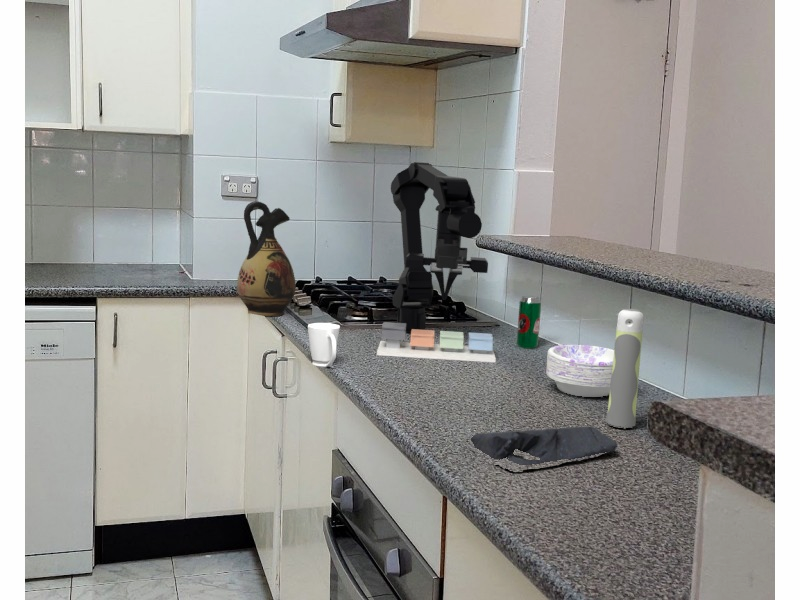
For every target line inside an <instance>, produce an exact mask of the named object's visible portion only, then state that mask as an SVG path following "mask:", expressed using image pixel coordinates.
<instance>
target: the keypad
mask: <svg viewBox="0 0 800 600" xmlns="http://www.w3.org/2000/svg"><path fill="white" fill-rule="evenodd" d="M439 347H440V343H434V347H422V346H410V342H404V341H401V340H397V339H386V340H380V342H379V344H378V347H377V350H376V356H384V357H398V358H399V357H400V358H416V359H418V358H419V359H431V360H432V359H435V360H447V361H449V360H450V361H463V362H482V363H496V361H497V358H496V355H495V352H494V349H493V348H494V347H492V351H488V350H472V349H469V348H468V345H463V349H455V348H439Z"/></svg>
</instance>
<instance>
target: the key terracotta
mask: <svg viewBox="0 0 800 600" xmlns="http://www.w3.org/2000/svg"><path fill="white" fill-rule="evenodd" d="M409 343H410V346H422V347H434V344H435V330H432V329H430V330H429V329H427V330H418V329H412V330H411V333H410V342H409Z"/></svg>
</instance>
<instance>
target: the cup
mask: <svg viewBox="0 0 800 600" xmlns="http://www.w3.org/2000/svg"><path fill="white" fill-rule="evenodd" d="M340 327H341V325H339V324H335V323H329V322H314V323H308V325H307V331H308V341H309V342H308V343H309V350H310V355H311V359H312V365H313V366H316V367H325V368H327V367H328V368H329V367H331V366H333V364H334V362H335V360H336V357H337V344H338V339H339V333H340Z"/></svg>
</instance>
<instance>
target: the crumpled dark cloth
mask: <svg viewBox="0 0 800 600" xmlns="http://www.w3.org/2000/svg"><path fill="white" fill-rule="evenodd" d="M473 435H474V436H473V437H472V438H471V441H472V442H473V444H474V446H475V448H477V449H479V450H481V451H482V452H483V453H485V454H487V455H489V456H490V457H491V458H494V459H499V460H500V459H503V458H506V457H507V459H508V458H509V459H508V460H509V461H513V462H514V463H517V464H519V465H532V464H540V463H544V462H550V461H557V460H561V459H569V460H571V459H575V458H582V457H585V456H591V455H595V454H599V453H605V452H608V453H611V452H610V451H612V452H615V451H616V450H617V449H618V443H617V441H616V440H614V439H612V438H611V437H609V436H608V435H607V434H603V433H602V430H601V431H600V430H599V429H597V428H596V427H594V426H573V427H561V428H548V429H526V430H525V429H524V430H513V431H512V430H510V431H498V432H493V431H492V432H483V433H482V432H481V433H475V434H473ZM515 449H518V450H520V451H523V452H526V453H529V454H530V455H532V456H535V457H539V458H540V460H526V459H523V458H521V457H517V456H515V455H514V454H513V452H514V450H515Z"/></svg>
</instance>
